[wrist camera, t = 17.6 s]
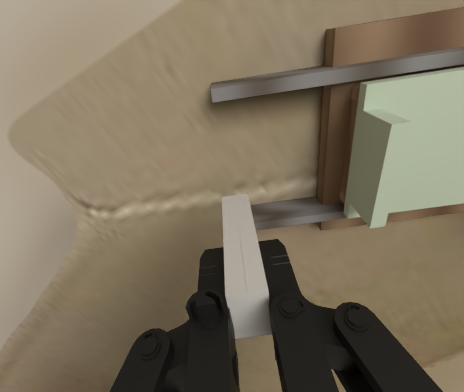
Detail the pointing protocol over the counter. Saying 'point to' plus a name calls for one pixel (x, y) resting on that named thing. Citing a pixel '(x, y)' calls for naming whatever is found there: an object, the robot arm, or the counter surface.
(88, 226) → the counter surface
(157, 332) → the robot arm
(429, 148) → the lid
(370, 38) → the housing
